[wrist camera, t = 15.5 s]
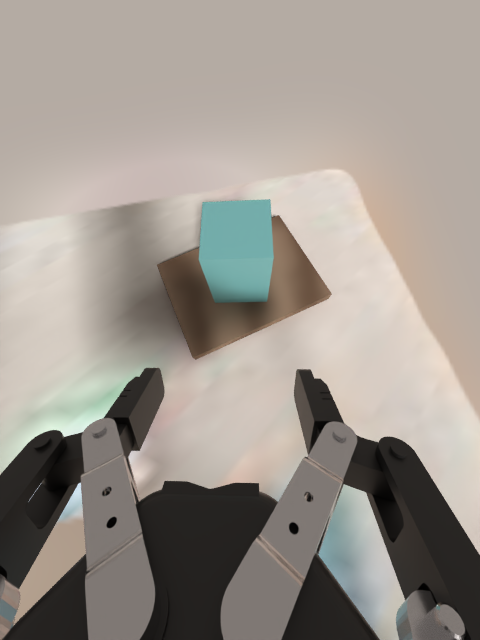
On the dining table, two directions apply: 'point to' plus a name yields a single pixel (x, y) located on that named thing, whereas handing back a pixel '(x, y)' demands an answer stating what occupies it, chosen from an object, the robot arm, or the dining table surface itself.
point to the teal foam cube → (237, 249)
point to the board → (240, 317)
